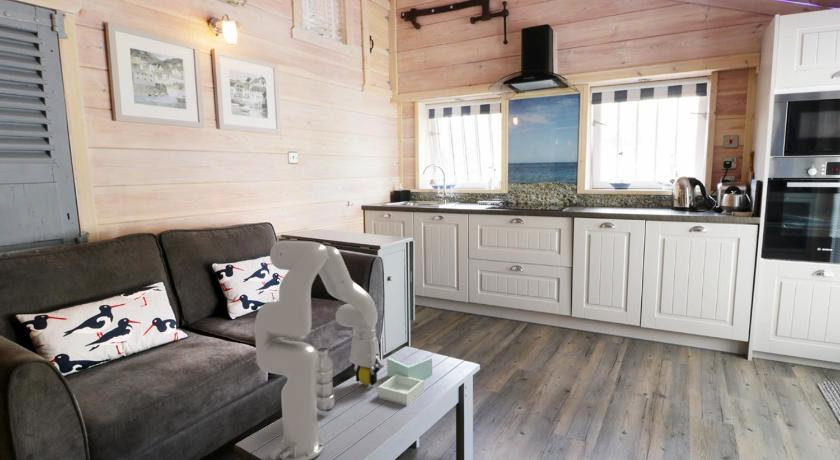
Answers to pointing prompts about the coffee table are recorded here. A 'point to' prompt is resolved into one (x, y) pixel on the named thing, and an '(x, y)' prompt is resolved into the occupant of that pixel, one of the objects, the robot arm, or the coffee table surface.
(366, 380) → the lemon
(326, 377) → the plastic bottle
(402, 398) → the bin
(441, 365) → the coffee table surface
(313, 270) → the robot arm
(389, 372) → the l-shaped corner panel
